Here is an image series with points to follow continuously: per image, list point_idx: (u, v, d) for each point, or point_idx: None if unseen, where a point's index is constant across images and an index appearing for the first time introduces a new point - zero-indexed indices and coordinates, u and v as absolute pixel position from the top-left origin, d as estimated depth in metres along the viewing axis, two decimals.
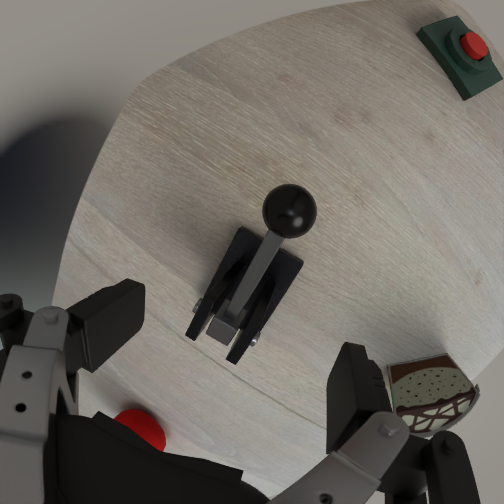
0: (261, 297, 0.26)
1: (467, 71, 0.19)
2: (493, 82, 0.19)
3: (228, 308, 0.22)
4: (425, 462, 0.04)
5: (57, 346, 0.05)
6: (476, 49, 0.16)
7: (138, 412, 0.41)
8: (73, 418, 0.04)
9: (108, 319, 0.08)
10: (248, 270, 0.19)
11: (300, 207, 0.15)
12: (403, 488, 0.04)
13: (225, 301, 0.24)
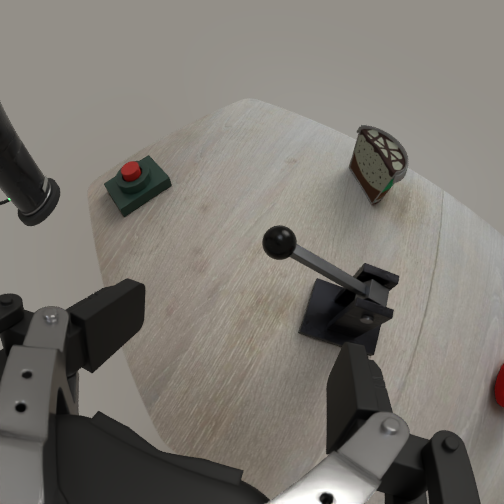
0: None
1: (150, 180, 0.45)
2: (153, 162, 0.47)
3: (358, 289, 0.27)
4: (425, 462, 0.04)
5: (57, 346, 0.05)
6: (134, 169, 0.42)
7: (496, 391, 0.28)
8: (73, 418, 0.04)
9: (108, 319, 0.08)
10: (325, 270, 0.27)
11: (276, 228, 0.25)
12: (403, 488, 0.04)
13: None
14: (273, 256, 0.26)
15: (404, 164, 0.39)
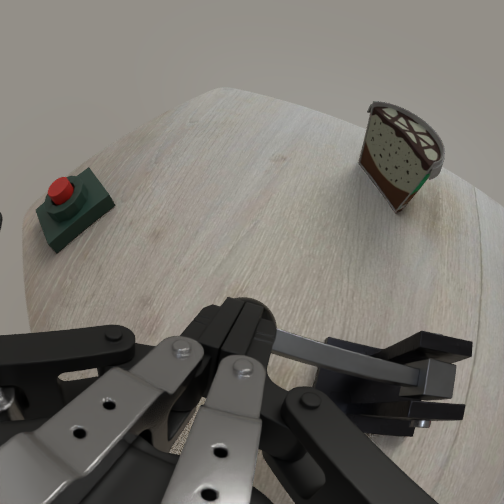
0: None
1: (86, 200, 0.30)
2: (93, 175, 0.32)
3: (406, 381, 0.13)
4: (282, 415, 0.06)
5: (170, 385, 0.06)
6: (63, 187, 0.27)
7: None
8: (140, 466, 0.03)
9: None
10: (340, 367, 0.13)
11: None
12: (267, 443, 0.06)
13: (402, 394, 0.14)
14: None
15: (439, 153, 0.25)
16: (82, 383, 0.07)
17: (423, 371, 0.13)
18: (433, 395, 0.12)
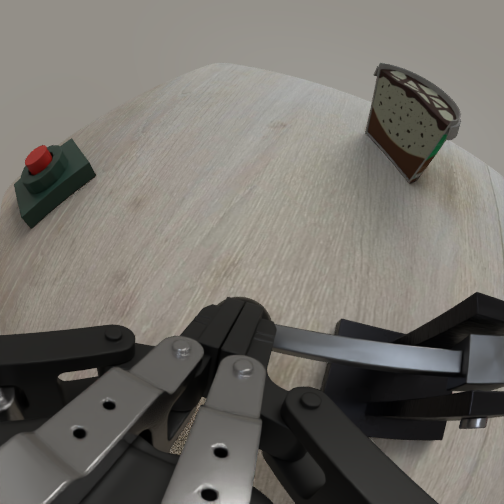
0: (416, 342, 0.13)
1: (65, 170, 0.25)
2: (75, 145, 0.28)
3: (442, 369, 0.09)
4: (283, 416, 0.06)
5: (170, 385, 0.06)
6: (40, 154, 0.23)
7: None
8: (139, 466, 0.03)
9: None
10: (345, 359, 0.11)
11: None
12: (267, 443, 0.06)
13: (449, 387, 0.09)
14: None
15: (455, 115, 0.20)
16: (82, 383, 0.07)
17: (466, 352, 0.09)
18: (482, 382, 0.07)
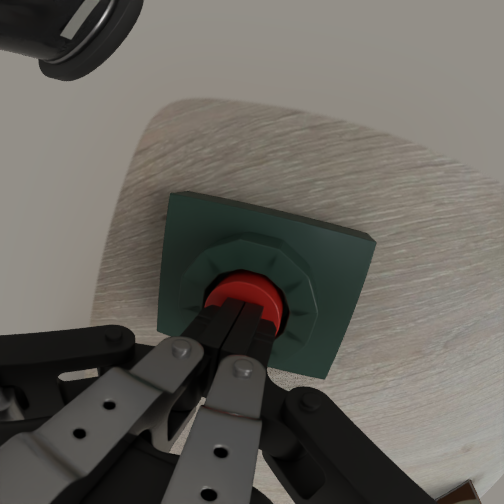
0: None
1: None
2: (356, 292, 0.13)
3: None
4: (283, 415, 0.06)
5: (170, 385, 0.06)
6: None
7: None
8: (140, 466, 0.03)
9: None
10: None
11: None
12: (267, 443, 0.06)
13: None
14: None
15: None
16: (82, 383, 0.07)
17: None
18: None
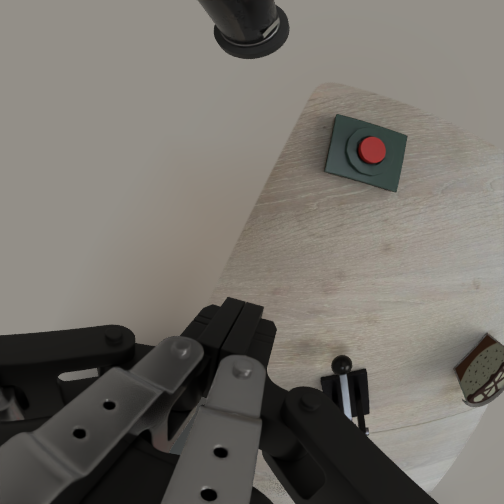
0: (357, 410, 0.37)
1: None
2: (402, 153, 0.31)
3: None
4: (283, 416, 0.06)
5: (170, 385, 0.06)
6: (376, 158, 0.30)
7: None
8: (139, 466, 0.03)
9: None
10: (342, 397, 0.36)
11: (343, 359, 0.37)
12: (267, 443, 0.06)
13: None
14: (331, 367, 0.38)
15: (481, 401, 0.30)
16: (82, 383, 0.07)
17: None
18: None
